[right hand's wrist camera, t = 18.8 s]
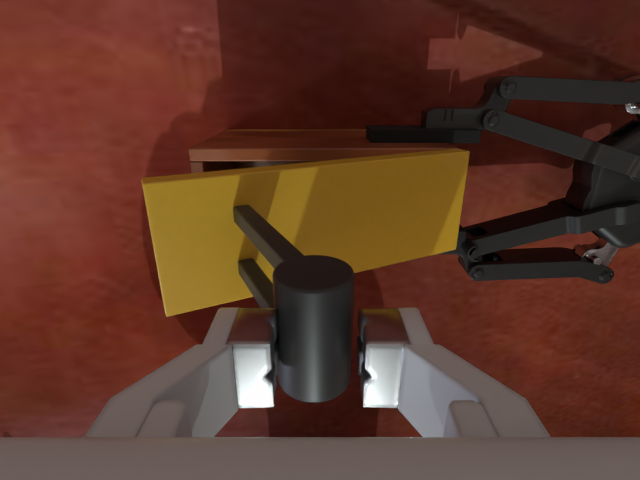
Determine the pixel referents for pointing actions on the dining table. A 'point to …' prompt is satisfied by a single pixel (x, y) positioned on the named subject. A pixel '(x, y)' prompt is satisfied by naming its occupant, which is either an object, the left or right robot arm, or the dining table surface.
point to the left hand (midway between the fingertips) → (366, 183)
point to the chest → (292, 148)
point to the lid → (301, 244)
